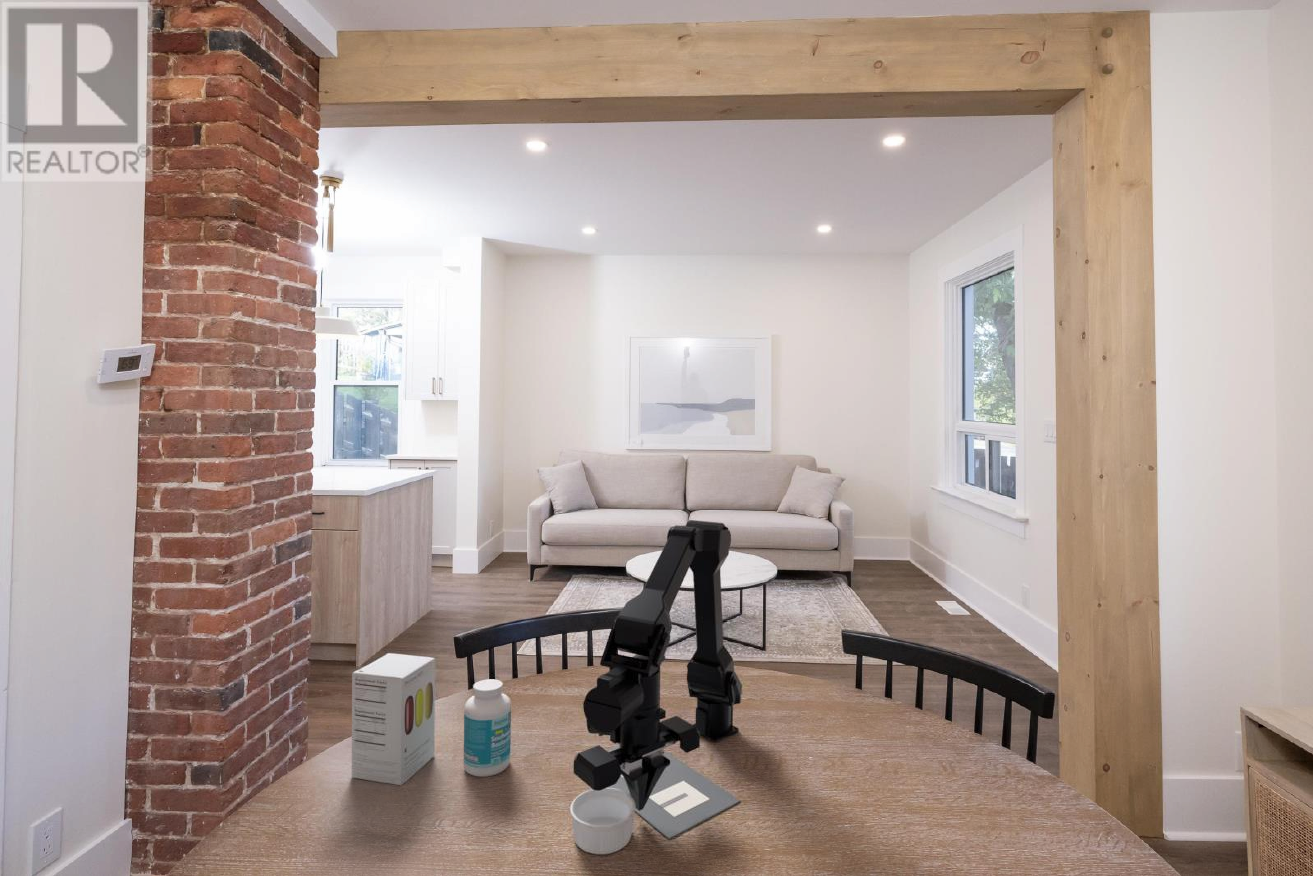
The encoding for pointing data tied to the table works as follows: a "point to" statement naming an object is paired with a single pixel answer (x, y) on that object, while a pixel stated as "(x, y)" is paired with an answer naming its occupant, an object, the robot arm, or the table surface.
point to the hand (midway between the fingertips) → (638, 808)
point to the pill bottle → (487, 729)
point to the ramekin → (602, 820)
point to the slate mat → (680, 798)
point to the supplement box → (393, 718)
